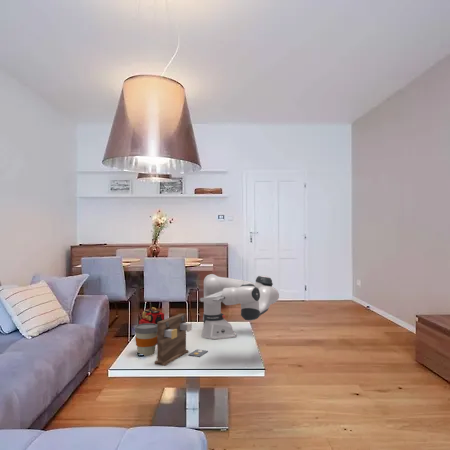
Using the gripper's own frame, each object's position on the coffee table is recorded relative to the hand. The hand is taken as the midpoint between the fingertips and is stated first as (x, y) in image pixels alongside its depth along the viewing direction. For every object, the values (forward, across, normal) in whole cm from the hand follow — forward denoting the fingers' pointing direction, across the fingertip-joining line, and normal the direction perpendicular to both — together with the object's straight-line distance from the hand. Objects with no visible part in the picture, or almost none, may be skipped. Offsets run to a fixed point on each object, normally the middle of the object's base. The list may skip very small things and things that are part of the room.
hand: (205, 298), depth 194 cm
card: (+10, +3, -30) cm, 32 cm away
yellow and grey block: (+15, -16, -16) cm, 27 cm away
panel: (+19, -9, -28) cm, 35 cm away
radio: (+47, +11, -26) cm, 54 cm away
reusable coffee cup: (+36, -8, -26) cm, 46 cm away
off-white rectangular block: (+15, -1, -16) cm, 22 cm away
